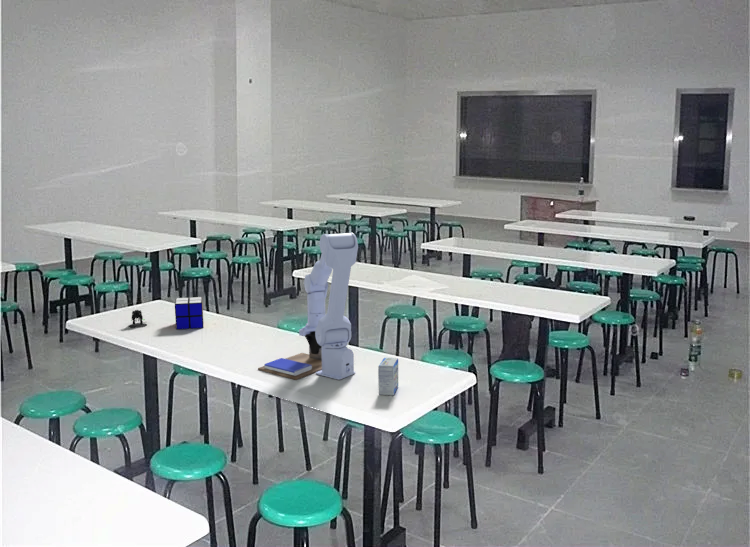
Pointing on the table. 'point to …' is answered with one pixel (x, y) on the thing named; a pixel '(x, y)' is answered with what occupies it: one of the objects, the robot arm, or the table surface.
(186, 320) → the puzzle cube
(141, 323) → the toy robot
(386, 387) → the medicine box
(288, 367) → the hard drive
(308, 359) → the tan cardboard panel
